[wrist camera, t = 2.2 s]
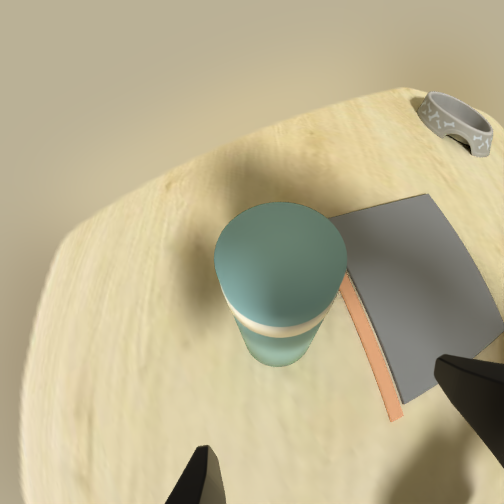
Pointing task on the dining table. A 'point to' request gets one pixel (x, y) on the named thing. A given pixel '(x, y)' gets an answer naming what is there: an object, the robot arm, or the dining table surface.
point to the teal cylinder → (280, 277)
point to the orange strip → (371, 350)
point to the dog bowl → (456, 122)
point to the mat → (417, 288)
